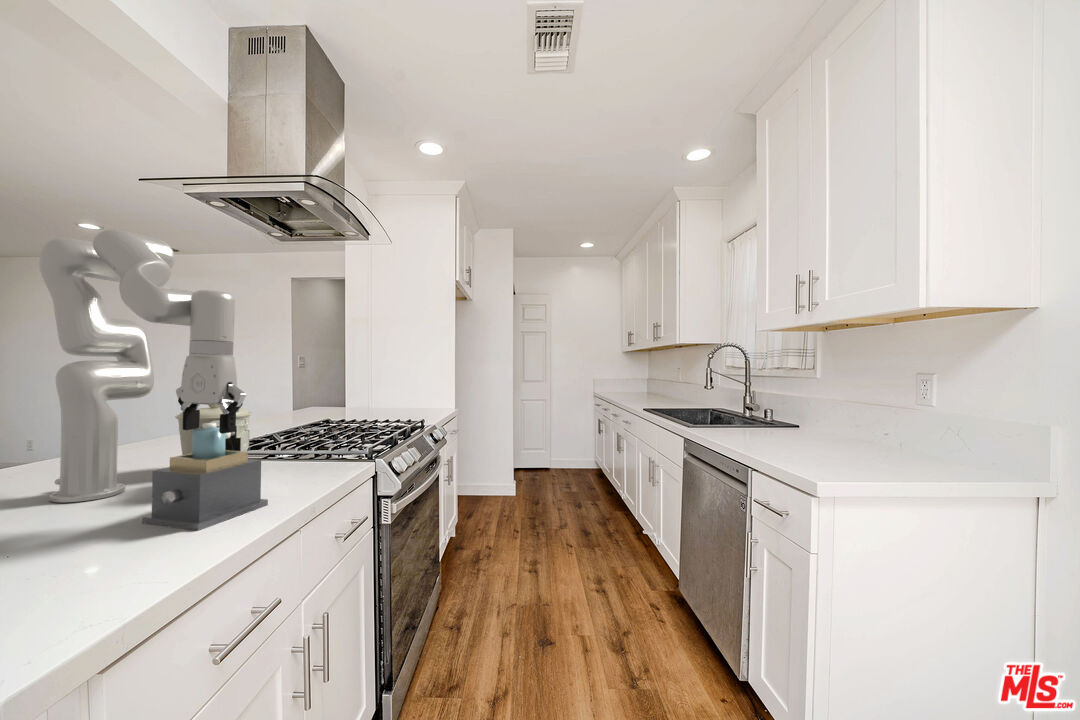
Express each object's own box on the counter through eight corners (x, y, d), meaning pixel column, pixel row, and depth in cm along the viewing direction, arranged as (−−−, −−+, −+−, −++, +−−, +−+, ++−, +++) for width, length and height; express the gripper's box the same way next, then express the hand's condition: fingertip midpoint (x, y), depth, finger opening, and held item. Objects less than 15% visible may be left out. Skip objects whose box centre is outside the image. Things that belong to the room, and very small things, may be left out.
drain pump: (185, 467, 93) (185, 424, 93) (217, 459, 100) (217, 420, 100) (206, 468, 92) (206, 425, 92) (237, 461, 98) (237, 421, 98)
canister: (156, 476, 123) (158, 399, 123) (213, 462, 141) (214, 395, 141) (215, 480, 121) (216, 401, 121) (265, 465, 139) (266, 396, 139)
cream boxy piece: (239, 492, 110) (240, 419, 110) (196, 496, 106) (198, 421, 106) (251, 475, 126) (252, 412, 126) (214, 478, 123) (215, 413, 123)
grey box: (138, 524, 88) (140, 460, 88) (218, 499, 104) (219, 445, 104) (194, 531, 85) (196, 465, 85) (267, 504, 101) (268, 449, 101)
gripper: (161, 348, 94) (158, 430, 94) (228, 350, 89) (225, 436, 89) (197, 349, 101) (194, 425, 101) (260, 351, 97) (257, 431, 97)
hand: (209, 430), depth 95 cm, fingers open, 9 cm apart
